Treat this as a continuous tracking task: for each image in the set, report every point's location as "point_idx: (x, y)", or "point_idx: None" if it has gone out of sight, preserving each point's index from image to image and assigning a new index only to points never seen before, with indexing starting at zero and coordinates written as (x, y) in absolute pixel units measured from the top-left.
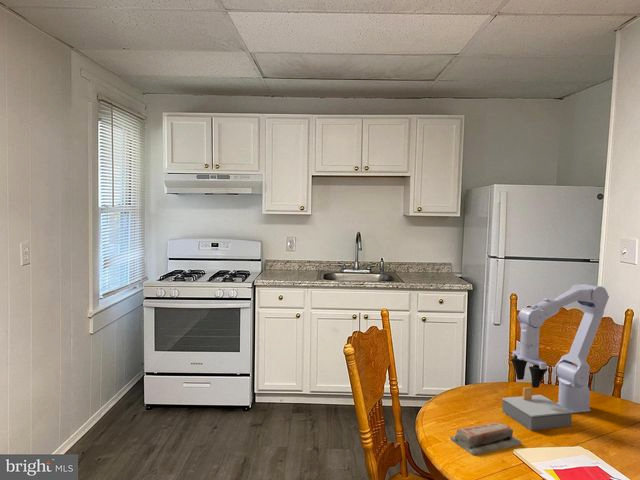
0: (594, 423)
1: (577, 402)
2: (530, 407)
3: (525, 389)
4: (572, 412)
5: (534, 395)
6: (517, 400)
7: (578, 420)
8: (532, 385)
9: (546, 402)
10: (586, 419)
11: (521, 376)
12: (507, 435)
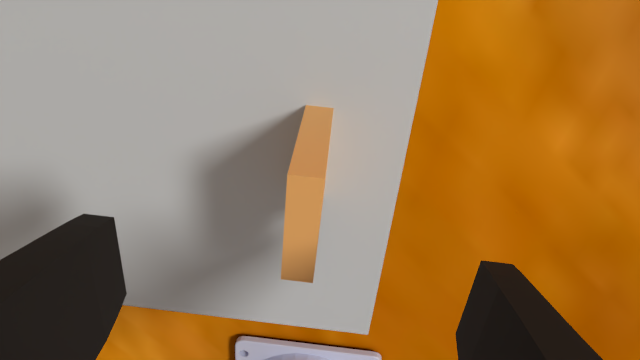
0: (103, 348)
1: None
2: (95, 7)
3: (288, 180)
4: (235, 355)
5: (372, 283)
6: (317, 16)
7: (148, 312)
8: (74, 227)
9: (201, 257)
10: (155, 352)
11: (476, 350)
12: None
